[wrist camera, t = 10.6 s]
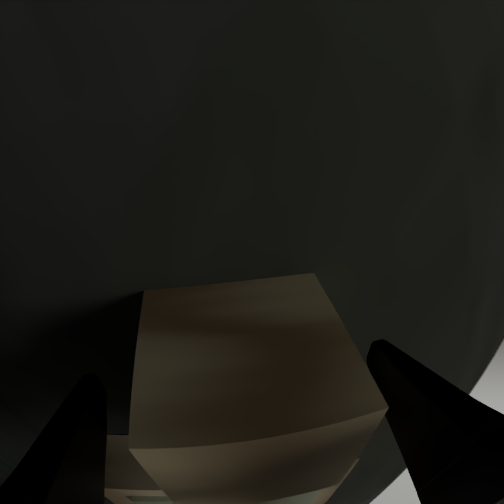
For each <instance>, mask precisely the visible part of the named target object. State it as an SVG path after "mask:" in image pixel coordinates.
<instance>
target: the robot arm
mask: <svg viewBox="0 0 504 504" xmlns="http://www.w3.org/2000/svg"><path fill="white" fill-rule="evenodd" d="M367 365H368V368H369V371H370V373H371V375H372V377H373V379H374V381H375V382H376V384H377V386H378V388H379V390H380V392H381V394H382V395H383V397H384V399H385V401H386V403H387V405H388V407H389V408H388V410H387V412H386V413H385V416H386V418H387V420H388V423H389V425H390V427H391V430H392V432H393V435H394V437H395V439H396V442H397V444H398V446H399V449H400V451H401V454H402V456H403V459H404V461H405V464H406V466H407V469H408V471H409V474H410V476H411V479H412V481H413V484H414V486H415V489H416V491H417V495H418V497H419V500H420V502H421V504H504V414H502V413H500V412H498V411H496V410H494V409H492V408H490V407H488V406H487V405H485V404H483V403H481V402H479V401H477V400H476V399H474V398H473V397H471V396H470V395H468V394H467V393H465V392H464V391H462V390H460V389H459V388H457V387H456V386H454V385H453V384H451V383H450V382H448V381H447V380H445V379H444V378H442V377H441V376H439V375H438V374H436V373H435V372H433V371H432V370H430V369H429V368H427V367H425V366H424V365H422V364H421V363H419V362H418V361H416V360H415V359H413V358H412V357H410V356H409V355H407V354H406V353H404V352H403V351H401V350H400V349H398V348H397V347H395V346H394V345H392V344H391V343H389V342H388V341H386V340H384V339H381V340H377V341H373V342H372V344H371V347H370V350H369V352H368V355H367ZM106 446H107V417H106V391H105V388H104V386H103V384H102V383H101V381H100V379H99V377H98V375H96V374H85V375H83V377H82V378H81V379H80V380H79V382H78V383H77V384H76V386H75V387H74V388H73V390H72V391H71V392H70V394H69V395H68V396H67V398H66V399H65V400H64V402H63V403H62V404H61V406H60V407H59V408H58V410H57V411H56V413H55V414H54V415H53V417H52V418H51V419H50V421H49V422H48V424H47V425H46V426H45V428H44V429H43V430H42V432H41V433H40V435H39V436H38V437H37V439H36V440H35V442H34V443H33V445H32V446H31V447H30V450H28V452H27V453H26V455H25V456H24V457H23V459H22V460H21V462H20V463H19V464H18V466H17V467H16V468H15V470H14V471H13V472H12V473H11V475H10V476H9V477H8V478H7V479H6V481H5V482H4V483H3V484H2V485H1V486H0V504H104V498H105V464H106Z"/></svg>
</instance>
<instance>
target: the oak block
mask: <svg viewBox="0 0 504 504" xmlns="http://www.w3.org/2000/svg"><path fill="white" fill-rule="evenodd" d="M388 408H389V407H388V405H387V403H386V401H385V399H384V397H383V395H382V394H381V392H380V390H379V388H378V386H377V384H376V382H375V381H374V379H373V377H372V375H371V373H370V371H369V369H368V368H367V366H366V364H365V362H364V360H363V358H362V357H361V355H360V353H359V351H358V349H357V348H356V346H355V344H354V342H353V340H352V339H351V337H350V335H349V333H348V332H347V330H346V328H345V326H344V325H343V323H342V321H341V319H340V317H339V316H338V314H337V312H336V311H335V309H334V307H333V305H332V304H331V302H330V300H329V298H328V297H327V295H326V293H325V292H324V290H323V288H322V286H321V285H320V283H319V281H318V280H317V278H316V276H315V274H314V273H308V274H300V275H291V276H282V277H274V278H265V279H255V280H246V281H237V282H227V283H217V284H207V285H197V286H187V287H176V288H165V289H154V290H144V295H143V301H142V308H141V314H140V321H139V329H138V337H137V345H136V353H135V362H134V372H133V382H132V394H131V407H130V422H129V442H128V449H129V450H130V452H131V453H132V454H133V456H134V457H135V458H136V460H137V461H138V462H139V463H140V465H141V466H142V467H143V468H144V470H145V471H146V472H147V473H148V474H149V476H150V477H151V478H152V479H153V480H154V482H155V483H156V484H157V485H158V486H159V487H160V488H161V490H162V491H163V492H164V493H165V494H166V495H167V496H168V497H169V499H170V500H171V501H172V502H173V503H174V504H252V503H259V502H265V501H271V500H276V499H281V498H286V497H291V496H296V495H300V494H305V493H309V492H313V491H317V490H321V489H324V488H328V487H332V486H335V485H338V484H339V483H340V481H341V480H342V479H343V477H344V476H345V475H346V473H347V472H348V470H349V469H350V468H351V466H352V465H353V463H354V462H355V461H356V459H357V458H358V456H359V455H360V453H361V452H362V450H363V449H364V447H365V446H366V444H367V443H368V441H369V440H370V438H371V436H372V435H373V433H374V432H375V430H376V428H377V427H378V425H379V423H380V422H381V420H382V418H383V417H384V415H385V413H386V412H387V410H388Z"/></svg>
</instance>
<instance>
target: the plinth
mask: <svg viewBox="0 0 504 504" xmlns="http://www.w3.org/2000/svg"><path fill="white" fill-rule="evenodd" d="M128 442H129V435H107V446H106V464H105V497H107V498H108V499H109V500H111V501H112V502H113V503H115V504H174V503H173V502H172V501H171V500H170V499H169V497H168V496H167V495H166V494H165V493H164V492H163V491H162V490H161V488H160V487H159V486H158V485H157V484H156V483H155V482H154V480H153V479H152V478H151V477H150V476H149V474H148V473H147V472H146V471H145V470H144V468H143V467H142V466H141V465H140V463H139V462H138V461H137V460H136V458H135V457H134V456H133V454H132V453H131V452H130V450H129V449H128ZM359 459H360V458H359V456H358V458H357V459H356V461H355V462H354V463H353V465H352V466H351V468H350V469H349V470H348V472H347V473H346V475H345V476H344V477H343V479H342V480H341V481H340V483H339V484H338V485H335V486H332V487H328V488H324V489H321V490H317V491H313V492H309V493H305V494H300V495H296V496H291V497H286V498H281V499H276V500H271V501H265V502H259V503H252V504H325V502H326V501H327V500H328V499H329V498H330V496H331V495H332V494H333V493H334V492H335V490H336V489H337V488H338V487H339V485H340V484H341V483H342V481H343V480H344V479H345V478H346V476H347V475H348V474H349V472H350V471H351V470H352V468H353V467H354V466H355V464H356V463H357V461H358V460H359Z"/></svg>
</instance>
